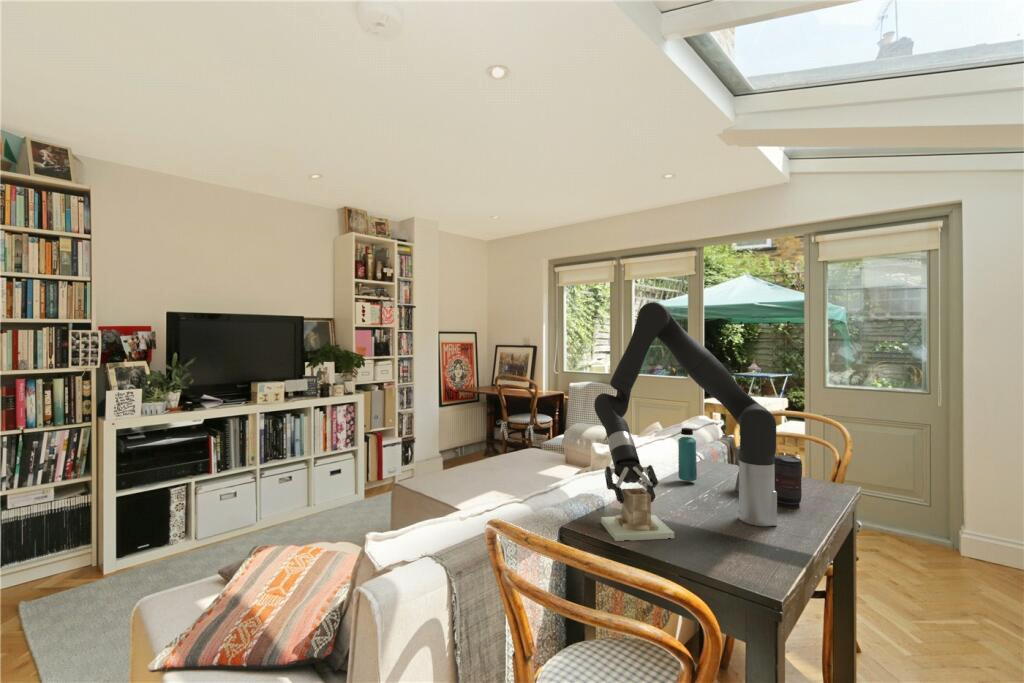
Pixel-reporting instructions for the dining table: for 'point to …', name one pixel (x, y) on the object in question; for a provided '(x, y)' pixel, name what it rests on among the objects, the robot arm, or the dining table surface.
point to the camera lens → (788, 481)
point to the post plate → (621, 534)
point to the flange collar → (636, 511)
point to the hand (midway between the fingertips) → (637, 501)
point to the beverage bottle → (687, 456)
